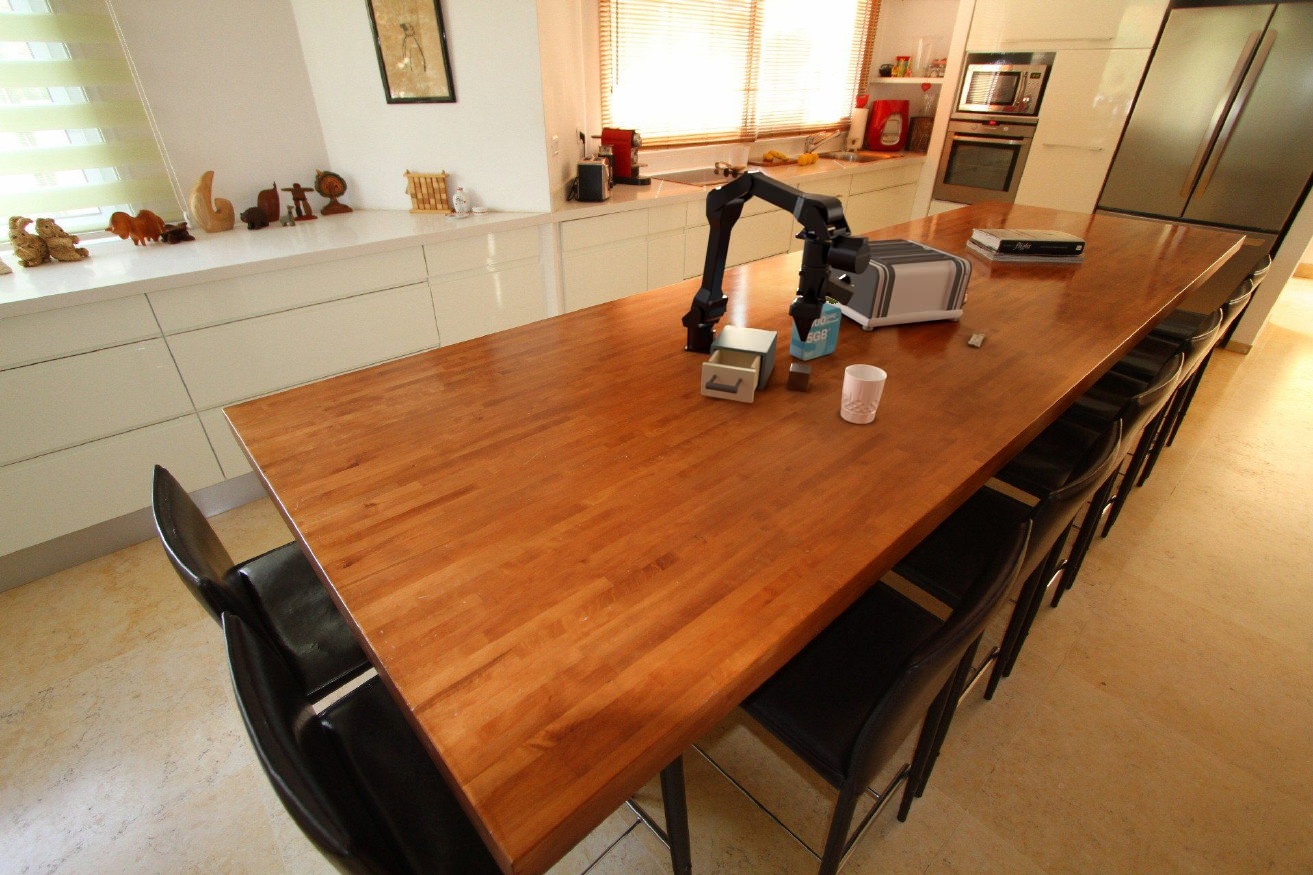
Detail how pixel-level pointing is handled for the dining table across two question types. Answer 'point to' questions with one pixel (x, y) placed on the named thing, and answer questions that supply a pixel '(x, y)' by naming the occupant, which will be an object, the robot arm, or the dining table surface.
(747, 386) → the drawer
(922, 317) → the toaster
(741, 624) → the dining table surface
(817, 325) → the data package
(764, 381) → the cabinet
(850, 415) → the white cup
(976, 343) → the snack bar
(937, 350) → the dining table surface
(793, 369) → the block
